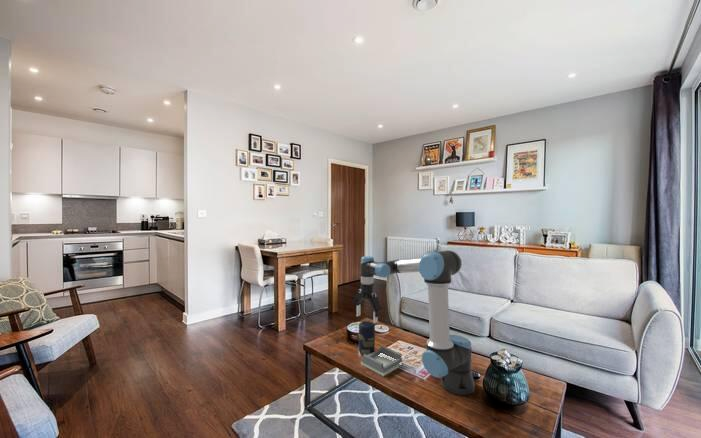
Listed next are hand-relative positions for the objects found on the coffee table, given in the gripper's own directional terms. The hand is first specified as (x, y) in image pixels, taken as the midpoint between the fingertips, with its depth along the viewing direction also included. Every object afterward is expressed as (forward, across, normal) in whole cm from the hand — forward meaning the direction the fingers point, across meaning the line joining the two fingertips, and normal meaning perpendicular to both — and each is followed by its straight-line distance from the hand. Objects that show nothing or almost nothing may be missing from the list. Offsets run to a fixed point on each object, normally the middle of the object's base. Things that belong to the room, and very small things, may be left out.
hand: (366, 319), depth 171 cm
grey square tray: (+20, -15, +4) cm, 25 cm away
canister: (+20, 0, 0) cm, 20 cm away
